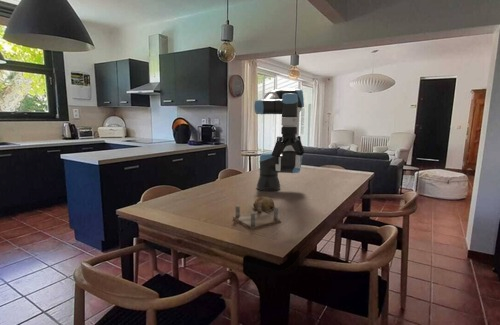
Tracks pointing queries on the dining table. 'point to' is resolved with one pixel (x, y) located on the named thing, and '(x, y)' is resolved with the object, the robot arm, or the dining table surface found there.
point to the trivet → (256, 218)
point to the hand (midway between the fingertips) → (288, 169)
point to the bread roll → (264, 204)
